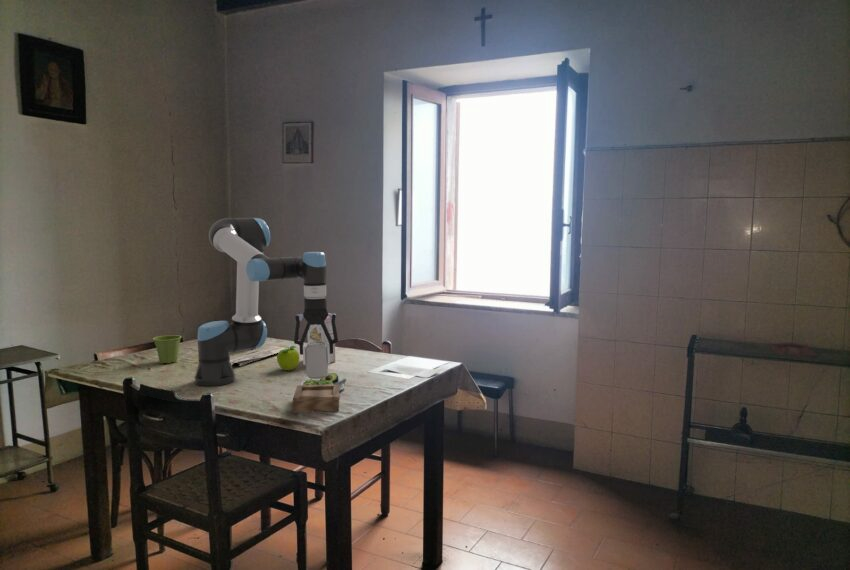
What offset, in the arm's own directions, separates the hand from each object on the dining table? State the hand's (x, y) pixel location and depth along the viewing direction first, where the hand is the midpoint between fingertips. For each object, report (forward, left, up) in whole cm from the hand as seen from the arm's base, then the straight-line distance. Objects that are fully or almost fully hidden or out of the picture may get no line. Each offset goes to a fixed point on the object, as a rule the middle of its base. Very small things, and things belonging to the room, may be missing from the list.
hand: (316, 363), depth 206 cm
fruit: (-15, +50, -15) cm, 55 cm away
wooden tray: (0, 0, -15) cm, 15 cm away
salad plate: (+1, +21, -15) cm, 26 cm away
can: (0, 0, -5) cm, 5 cm away
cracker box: (-2, +65, -15) cm, 67 cm away
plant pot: (-70, +70, -15) cm, 100 cm away
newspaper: (-32, +73, -16) cm, 81 cm away
